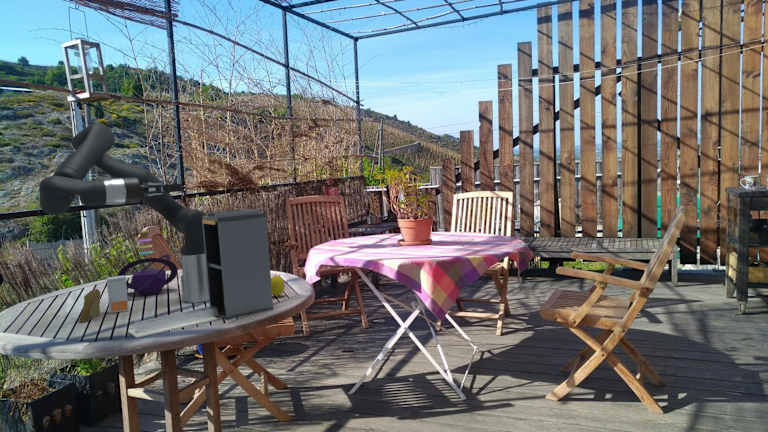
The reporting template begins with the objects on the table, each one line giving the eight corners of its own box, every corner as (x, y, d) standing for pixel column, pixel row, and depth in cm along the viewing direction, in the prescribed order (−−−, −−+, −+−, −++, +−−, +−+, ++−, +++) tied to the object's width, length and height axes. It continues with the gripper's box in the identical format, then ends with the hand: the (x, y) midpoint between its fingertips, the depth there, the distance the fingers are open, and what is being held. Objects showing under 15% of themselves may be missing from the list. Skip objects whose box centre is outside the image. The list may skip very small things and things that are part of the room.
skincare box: (109, 313, 185) (106, 279, 184) (109, 311, 189) (106, 277, 188) (129, 310, 188) (126, 276, 187) (128, 308, 192) (125, 275, 191)
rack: (225, 319, 169) (216, 214, 166) (208, 312, 180) (199, 212, 177) (273, 308, 179) (265, 209, 176) (254, 302, 190) (247, 208, 187)
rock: (87, 317, 173) (112, 305, 181) (72, 297, 173) (97, 286, 182) (74, 333, 178) (99, 321, 186) (59, 314, 178) (84, 303, 187)
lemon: (281, 298, 193) (280, 276, 193) (267, 298, 194) (265, 276, 194) (287, 294, 199) (285, 273, 198) (273, 295, 200) (271, 273, 199)
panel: (134, 322, 161) (135, 330, 161) (138, 324, 158) (139, 333, 158) (212, 305, 176) (212, 313, 176) (217, 307, 173) (218, 315, 173)
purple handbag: (180, 285, 228) (175, 226, 226) (179, 295, 208) (173, 231, 206) (121, 292, 221) (115, 231, 218) (115, 303, 201) (108, 236, 199)
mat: (136, 337, 155) (136, 336, 155) (128, 331, 162) (128, 330, 162) (217, 319, 170) (217, 318, 170) (206, 314, 177) (206, 313, 177)
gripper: (116, 203, 162) (171, 199, 172) (128, 204, 151) (187, 199, 161) (113, 178, 161) (169, 175, 171) (125, 177, 150) (184, 174, 160)
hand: (177, 187), depth 166 cm, fingers open, 8 cm apart
